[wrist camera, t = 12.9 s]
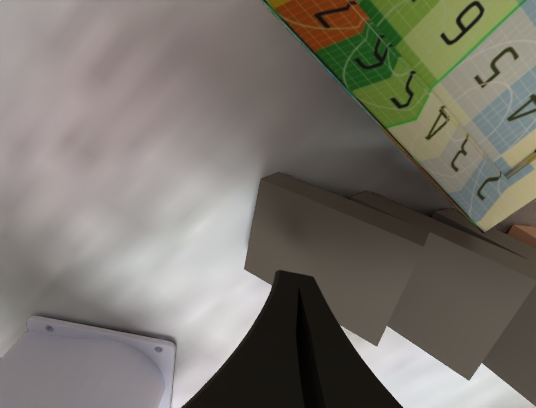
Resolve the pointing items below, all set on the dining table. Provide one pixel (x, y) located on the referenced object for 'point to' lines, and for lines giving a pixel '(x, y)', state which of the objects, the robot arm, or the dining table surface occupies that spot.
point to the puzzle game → (438, 87)
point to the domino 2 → (456, 290)
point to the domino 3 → (521, 325)
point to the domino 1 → (334, 250)
